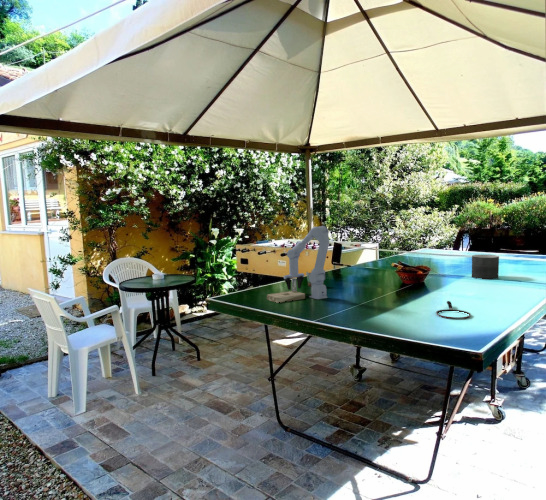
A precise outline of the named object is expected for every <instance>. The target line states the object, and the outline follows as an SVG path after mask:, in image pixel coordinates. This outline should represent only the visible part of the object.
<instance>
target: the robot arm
mask: <svg viewBox="0 0 546 500" xmlns="http://www.w3.org/2000/svg"><path fill="white" fill-rule="evenodd" d="M329 232H330V231H329V229H328V228H327V226H325V225H321V226H313V227H312V228H311V229H310V230H309V231H308V233H307V234H306V236H305V237H304V238H302V240H301V241H299V240H298V241H296V244H295V245H294V246H293V247H292V248H291V249H288V250H287V253H286V256H287V257H288V262H289V263H288V265H289V268H288V270H289V271H288V272H289V274H286V275H283V279H284V282H285V283H286V287H287V289H288V290H289V291H292V278H296V282H297V288H298V289H301V287H302V284H303V281H304V279H305V273H302V272H301V273H299V260H300V259H299V258H300V256H301V253H302V252H303V251H304V250H305V249H306V245H307V244H308V243H309V242H311V241H312V240H313V239H315V240H316V241H318V243H319V244H318V250H317V254H316V258H315V263H314V267H313V269H312V270H311V272H310V273H311V274H310V275H309V281H310V282H311V287H310V288H311V295H308V298H312V299H315V300H322V299H327V298H329V297H328V296H327V286H326V284H324V281H326V270H325V269H324V268H325V267H324V266H325V263H326V258H327V255H328V250H329V245H330V237H329V234H330V233H329Z"/></svg>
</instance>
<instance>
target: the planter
mask: <svg viewBox="0 0 546 500" xmlns="http://www.w3.org/2000/svg"><path fill="white" fill-rule="evenodd" d="M499 263H500V256H499V255H496V254H495V255H494V254H473V255H471V278H473V277H476V278H475V279H477V278H482V279H481V280H494V279H493V278H497V279H499V272H500V271H499V269H500V267H499V266H500V264H499Z"/></svg>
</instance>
